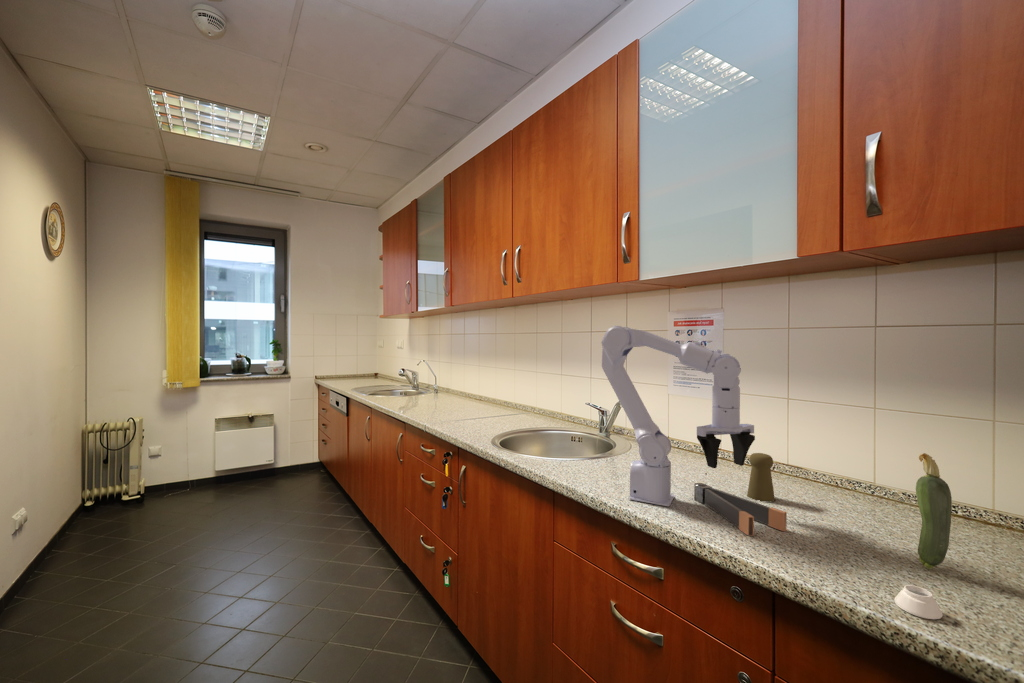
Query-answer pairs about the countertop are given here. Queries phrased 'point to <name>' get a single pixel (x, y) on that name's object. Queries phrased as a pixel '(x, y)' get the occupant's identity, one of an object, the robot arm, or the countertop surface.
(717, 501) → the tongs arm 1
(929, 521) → the vegetable
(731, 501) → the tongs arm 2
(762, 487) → the cork
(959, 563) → the countertop surface
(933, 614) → the upside-down white bowl
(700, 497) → the tongs hub
